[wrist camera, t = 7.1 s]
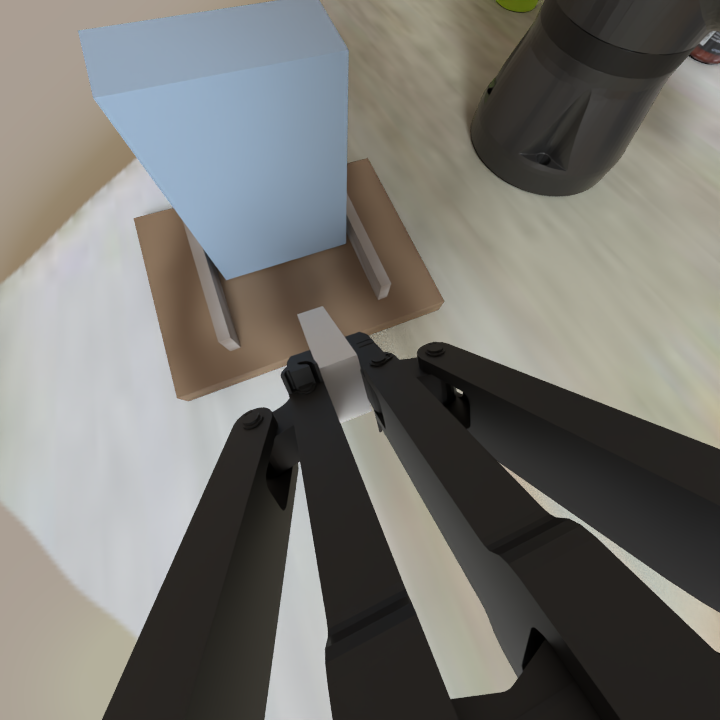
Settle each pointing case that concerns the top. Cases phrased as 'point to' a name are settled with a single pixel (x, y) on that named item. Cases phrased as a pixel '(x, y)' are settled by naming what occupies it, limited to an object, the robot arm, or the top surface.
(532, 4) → the soap dispenser
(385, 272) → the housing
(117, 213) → the top surface
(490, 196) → the top surface
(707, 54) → the supplement bottle
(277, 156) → the blue-grey rectangular block
